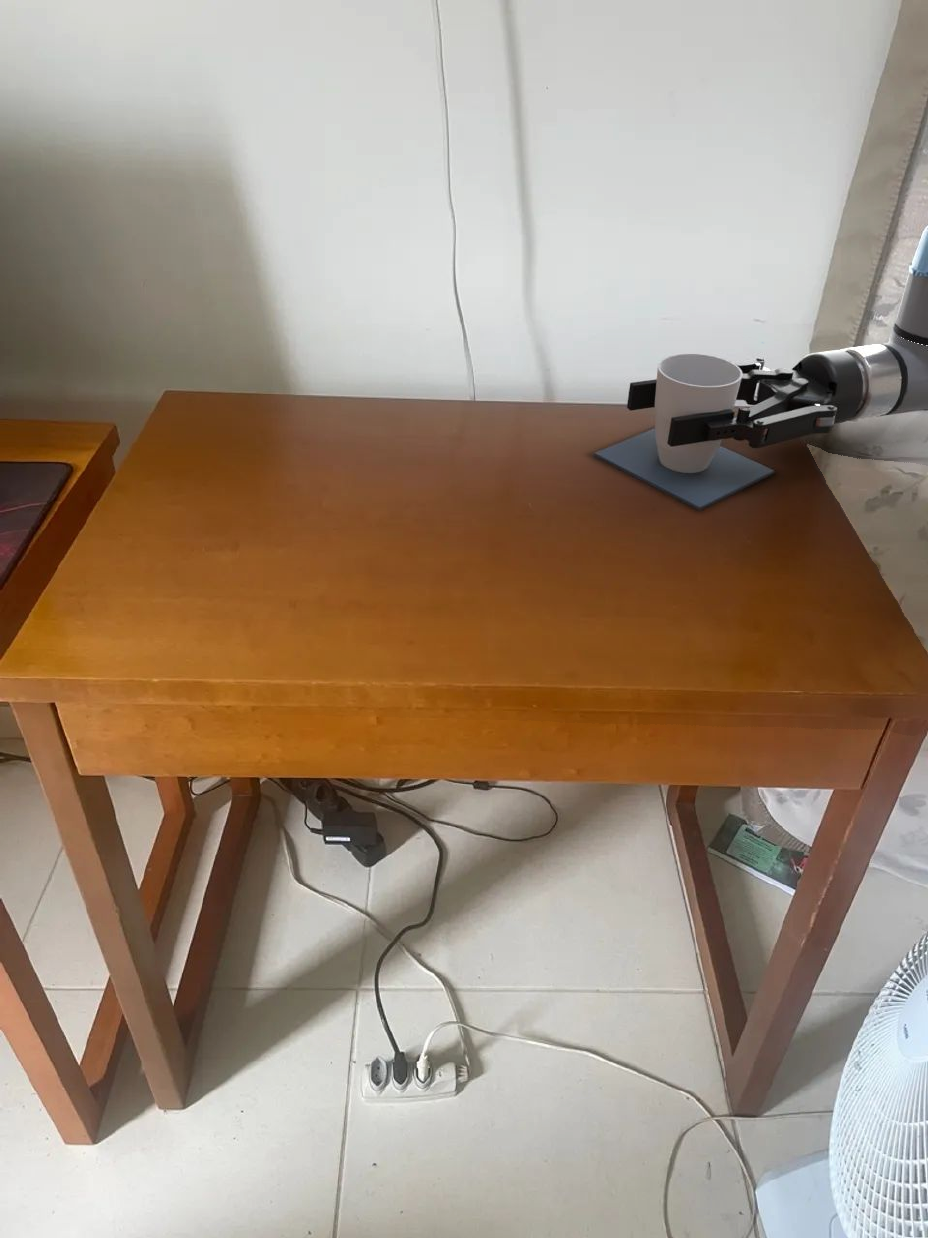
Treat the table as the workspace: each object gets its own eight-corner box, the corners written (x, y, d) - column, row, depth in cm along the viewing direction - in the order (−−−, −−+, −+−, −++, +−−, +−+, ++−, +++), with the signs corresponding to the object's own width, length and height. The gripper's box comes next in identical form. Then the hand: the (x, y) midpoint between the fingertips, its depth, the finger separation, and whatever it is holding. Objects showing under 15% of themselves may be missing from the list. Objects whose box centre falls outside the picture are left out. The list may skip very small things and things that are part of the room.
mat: (773, 473, 101) (774, 470, 100) (699, 510, 94) (699, 507, 94) (668, 425, 109) (669, 421, 109) (593, 456, 103) (594, 452, 103)
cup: (739, 473, 100) (759, 380, 94) (670, 486, 97) (686, 391, 91) (695, 438, 106) (712, 349, 100) (629, 449, 103) (642, 358, 97)
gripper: (897, 462, 98) (697, 497, 91) (777, 381, 113) (599, 406, 106) (920, 391, 93) (712, 423, 87) (792, 317, 108) (607, 339, 102)
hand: (650, 413), depth 96 cm, fingers closed on cup, 8 cm apart
